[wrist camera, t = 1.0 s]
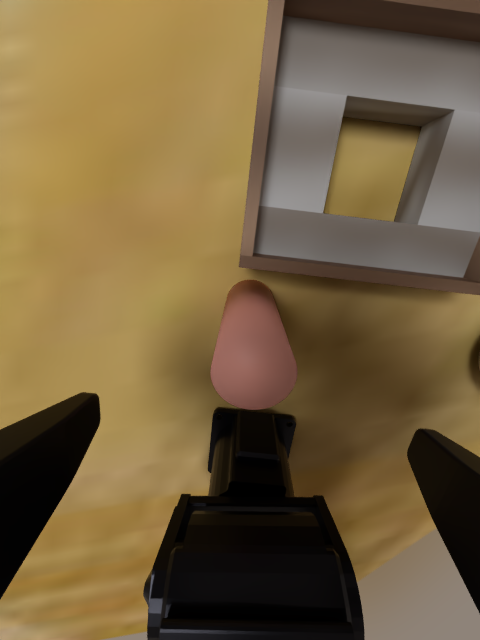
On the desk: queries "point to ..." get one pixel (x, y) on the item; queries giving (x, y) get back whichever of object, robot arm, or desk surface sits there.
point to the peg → (252, 350)
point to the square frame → (378, 105)
